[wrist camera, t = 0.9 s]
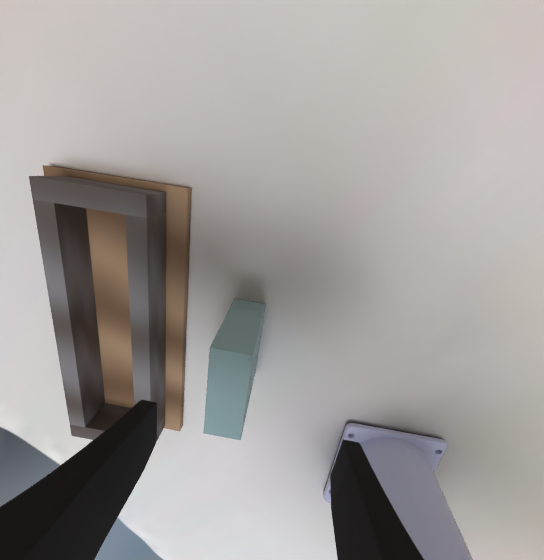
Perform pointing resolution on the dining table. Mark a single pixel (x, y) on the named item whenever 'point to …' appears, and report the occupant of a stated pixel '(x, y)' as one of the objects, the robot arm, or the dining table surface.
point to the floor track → (115, 292)
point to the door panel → (233, 369)
